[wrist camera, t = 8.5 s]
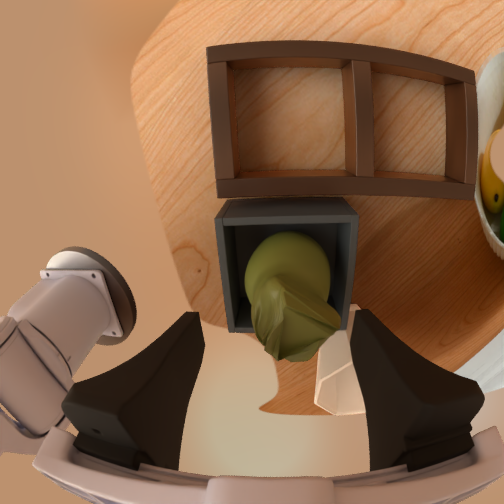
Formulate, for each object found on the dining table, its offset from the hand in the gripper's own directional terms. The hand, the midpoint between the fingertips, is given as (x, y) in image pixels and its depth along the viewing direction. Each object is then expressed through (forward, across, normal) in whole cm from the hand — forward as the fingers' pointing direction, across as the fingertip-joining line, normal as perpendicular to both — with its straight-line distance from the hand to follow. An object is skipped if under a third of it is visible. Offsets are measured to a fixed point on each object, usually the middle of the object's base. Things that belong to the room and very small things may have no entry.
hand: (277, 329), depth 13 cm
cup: (+10, -6, +9) cm, 15 cm away
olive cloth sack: (+10, -1, +1) cm, 10 cm away
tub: (+10, -1, +1) cm, 10 cm away
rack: (+10, -6, -9) cm, 15 cm away
